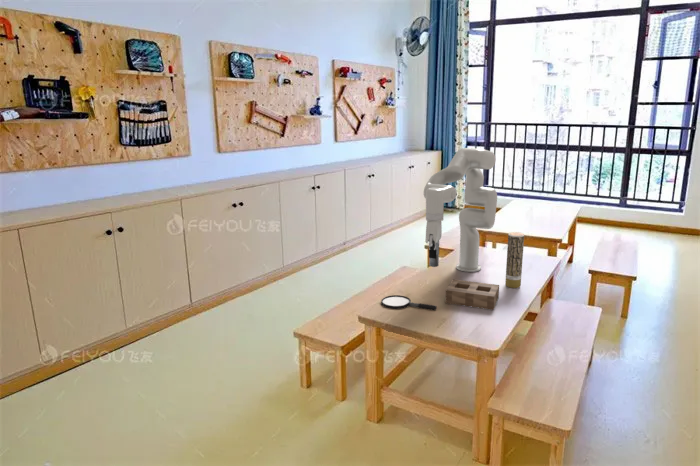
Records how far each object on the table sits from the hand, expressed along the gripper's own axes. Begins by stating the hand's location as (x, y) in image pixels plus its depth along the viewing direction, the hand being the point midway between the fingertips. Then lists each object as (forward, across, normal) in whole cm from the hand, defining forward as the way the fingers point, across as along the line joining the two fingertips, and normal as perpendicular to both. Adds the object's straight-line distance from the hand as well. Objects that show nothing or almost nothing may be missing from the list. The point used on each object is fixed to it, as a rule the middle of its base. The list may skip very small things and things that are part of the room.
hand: (434, 256), depth 215 cm
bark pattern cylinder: (+18, -21, +32) cm, 42 cm away
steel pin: (+4, 0, 0) cm, 4 cm away
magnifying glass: (+18, +18, -6) cm, 26 cm away
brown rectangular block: (+17, +3, +18) cm, 25 cm away
